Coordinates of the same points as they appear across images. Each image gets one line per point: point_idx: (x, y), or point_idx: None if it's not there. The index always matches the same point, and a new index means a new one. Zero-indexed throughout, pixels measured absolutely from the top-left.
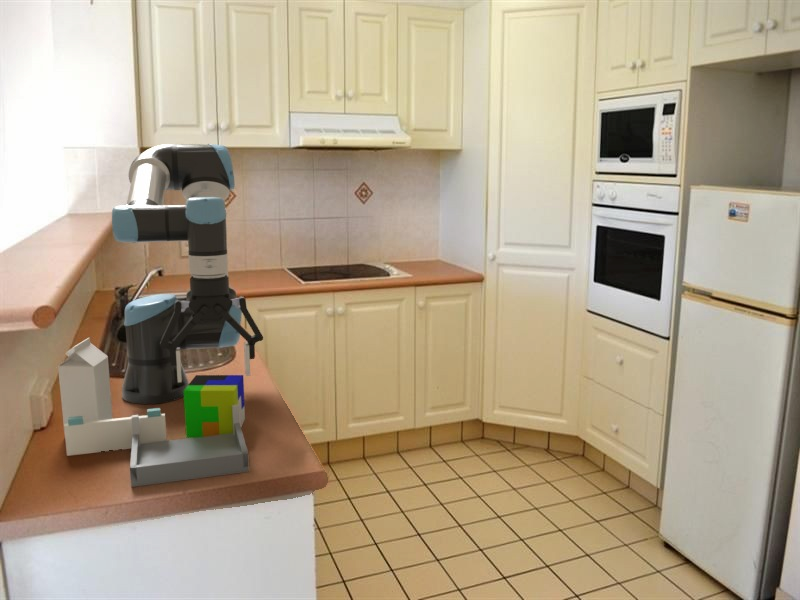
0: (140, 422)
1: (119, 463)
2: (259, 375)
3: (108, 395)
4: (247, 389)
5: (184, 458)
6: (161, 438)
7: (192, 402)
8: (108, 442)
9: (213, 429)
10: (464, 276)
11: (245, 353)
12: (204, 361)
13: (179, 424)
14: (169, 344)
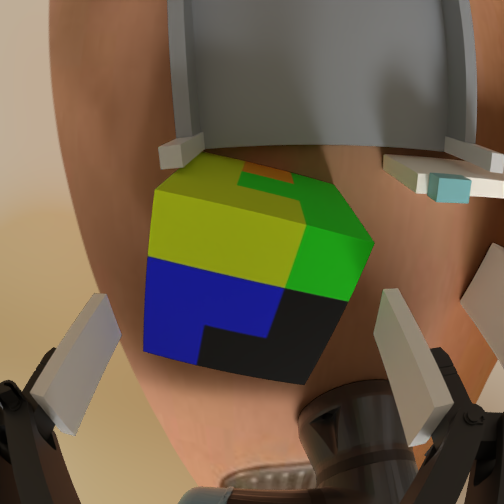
0: (469, 174)
1: None
2: (175, 439)
3: (498, 334)
4: (189, 404)
5: (342, 13)
6: (401, 157)
7: (332, 214)
8: None
9: (260, 170)
10: None
11: (68, 372)
12: (264, 481)
13: None
14: (485, 434)
